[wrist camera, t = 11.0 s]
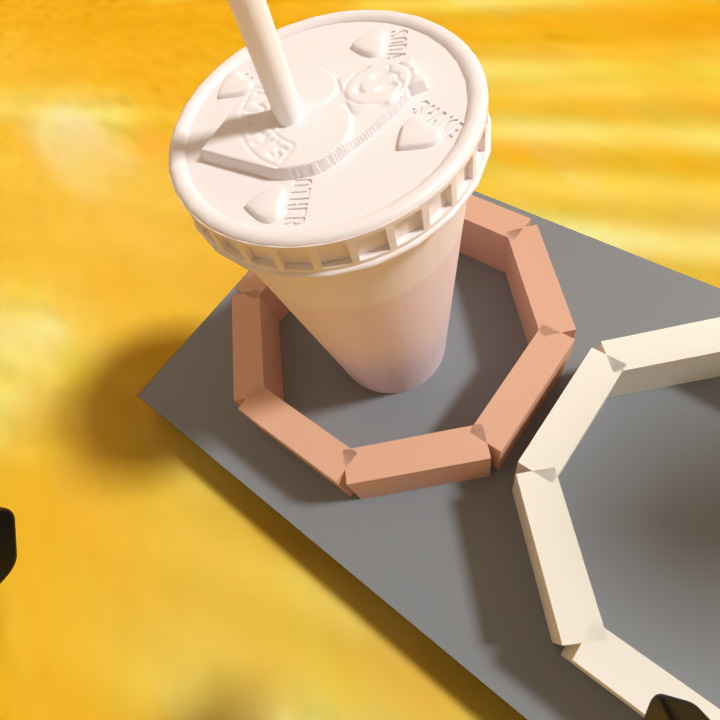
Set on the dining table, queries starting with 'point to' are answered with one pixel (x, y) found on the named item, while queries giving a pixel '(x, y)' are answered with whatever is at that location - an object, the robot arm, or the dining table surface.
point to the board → (502, 464)
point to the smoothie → (342, 177)
